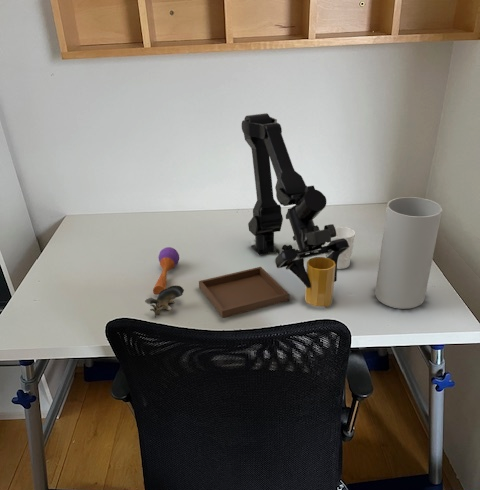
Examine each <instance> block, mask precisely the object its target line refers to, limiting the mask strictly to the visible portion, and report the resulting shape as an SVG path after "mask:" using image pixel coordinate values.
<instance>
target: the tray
mask: <svg viewBox="0 0 480 490" xmlns="http://www.w3.org/2000/svg"><path fill="white" fill-rule="evenodd" d="M198 289H199V290H200V291H201V292H202V294H203V295H204V296H205V297H206V299H207V300H208V301H209V302H210V304H211V305H212V307H213V308H214V309H215V310H216V312H217V313H218V314H219V316H220V317H221V318H222V319H224V318H228V317H232V316H237V315H239V314H243V313H247V312H251V311H255V310H259V309H262V308H267V307H270V306H274V305H278V304H281V303H285V302H289V301H290V293H289V292H288V291H287V290H286V289H285V288H283V286H282V285H281V284H280V283H278V281H277V280H275V279H274V277H272V276H271V275H270V274H269V273H268V272H267V271H266V270H265V269H264V268H263V267H262V266H257V267H253V268H249V269H245V270H244V269H243V270H240V271H235V272H232V273H228V274H223V275H219V276H214V277H211V278H206V279H202V280H198Z"/></svg>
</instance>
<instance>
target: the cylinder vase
mask: <svg viewBox="0 0 480 490" xmlns="http://www.w3.org/2000/svg"><path fill="white" fill-rule="evenodd" d="M442 212H443V207H442V205H441V204H440V203H438V202H436V201H434V200H431V199H427V198H423V197H414V196H407V197H406V196H405V197H404V196H402V197H396V198H394V199H393V198H392V199H391V200H389V201H388V202H387V203H386V211H385V217H384V225H383V231H382V232H383V233H382V239H381V247H380V252H379V253H380V254H379V260H378V261H379V262H378V268H377V275H376V283H375V290H374V294H375V297H376V299H377V300H378V301H379V302H380V303H381V304H383V305H385V306H387V307H390V308H393V309H399V310H400V309H401V310H408V309H410V310H411V309H414V308H417V307H419V306H421V305H422V304H423V303H424V302H425V299H426V293H427V289H428V284H429V280H430V279H429V278H430V273H431V269H432V265H433V264H432V263H433V258H434V254H435V253H434V252H435V249H436V244H437V238H438V233H439V228H440V224H441V218H442Z"/></svg>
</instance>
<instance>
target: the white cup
mask: <svg viewBox="0 0 480 490" xmlns="http://www.w3.org/2000/svg"><path fill="white" fill-rule="evenodd" d="M334 227H335V229H336V237H332V238H331V241H333V240H337V239H342V238H344V239H345V240H347V241H348V244H349V248H348V249H347V250H345V251H344V252H343V253H342V254H340V255H339V257H338V261H337V270H343V269H347V268H348V267H350V264H351V258H352V254H353V248H354V242H355V236H356V231H355V230H353V228H350V227H346V226H334ZM329 243H330V242H329ZM329 243H327V242H326V243H325V246H327V245H328V244H329Z"/></svg>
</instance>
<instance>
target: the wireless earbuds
mask: <svg viewBox="0 0 480 490" xmlns="http://www.w3.org/2000/svg"><path fill="white" fill-rule="evenodd" d="M290 249H294V247H293V245H292V244H288V245H287V244H283V245H282V247H281V251H285V250H290ZM295 250H296V251H297V252H298V251H299V249H295ZM274 253H275V254H277V256H278V255H279V254H280V253H281V252H280V250H279V249H278V248H277V250H275V252H274Z"/></svg>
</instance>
